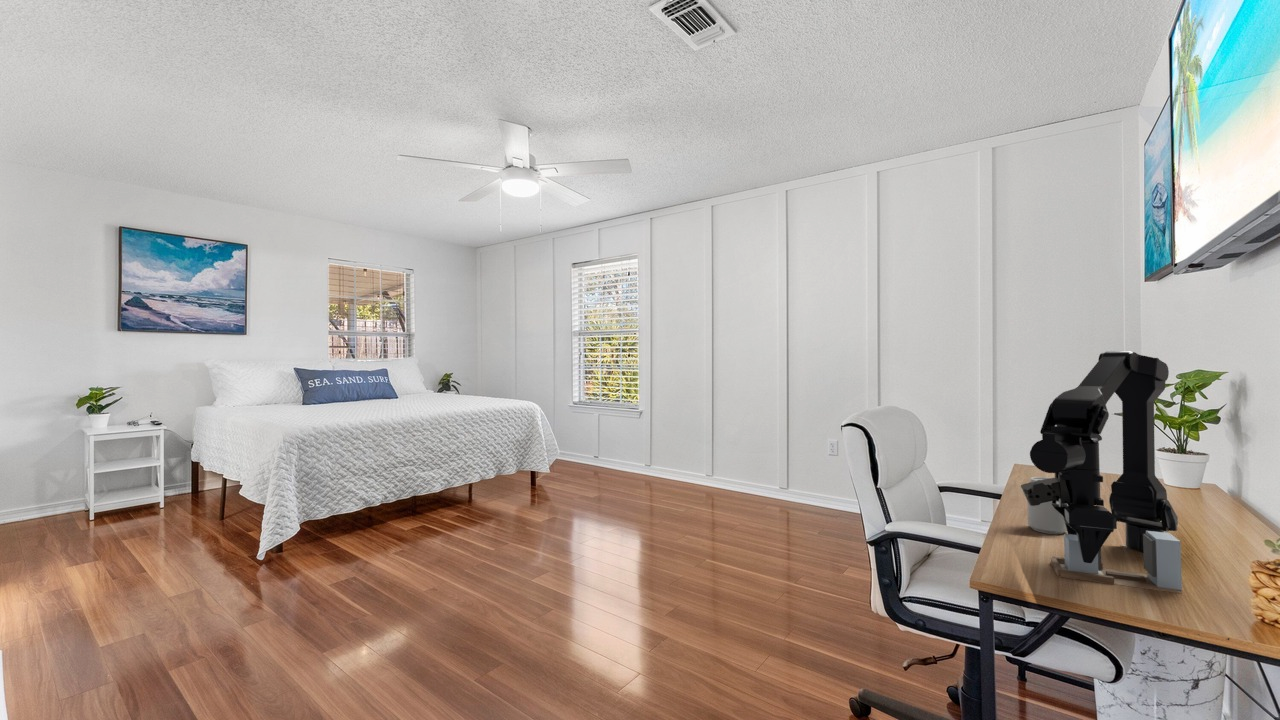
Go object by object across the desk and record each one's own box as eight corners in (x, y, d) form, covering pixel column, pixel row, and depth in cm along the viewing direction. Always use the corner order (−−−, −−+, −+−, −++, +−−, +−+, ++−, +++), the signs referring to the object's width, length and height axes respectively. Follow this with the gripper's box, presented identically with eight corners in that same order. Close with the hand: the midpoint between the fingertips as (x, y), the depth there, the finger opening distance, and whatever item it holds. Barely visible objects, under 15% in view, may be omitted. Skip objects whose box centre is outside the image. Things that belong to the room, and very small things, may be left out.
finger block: (1064, 566, 100) (1063, 533, 100) (1096, 570, 98) (1095, 536, 98) (1069, 573, 96) (1068, 539, 96) (1102, 577, 94) (1101, 543, 94)
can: (1029, 523, 131) (1028, 474, 131) (1068, 529, 126) (1067, 477, 126) (1026, 531, 125) (1025, 479, 125) (1068, 537, 121) (1066, 483, 121)
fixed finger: (1143, 576, 95) (1142, 530, 95) (1170, 579, 93) (1168, 532, 93) (1153, 586, 90) (1152, 538, 90) (1181, 590, 89) (1180, 541, 89)
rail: (1050, 569, 102) (1049, 556, 102) (1163, 584, 95) (1162, 570, 95) (1058, 584, 95) (1058, 570, 95) (1181, 602, 88) (1181, 586, 88)
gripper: (1017, 456, 109) (1019, 533, 109) (1032, 473, 93) (1034, 564, 93) (1087, 459, 104) (1089, 541, 104) (1116, 478, 87) (1119, 575, 87)
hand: (1081, 554), depth 97 cm, fingers open, 9 cm apart
